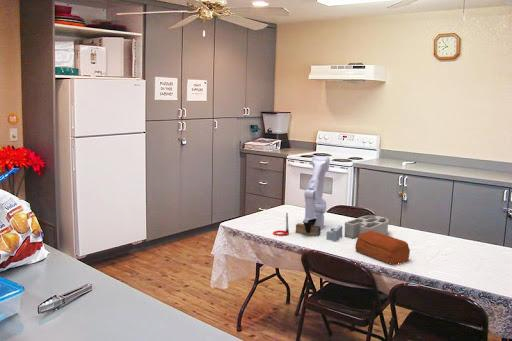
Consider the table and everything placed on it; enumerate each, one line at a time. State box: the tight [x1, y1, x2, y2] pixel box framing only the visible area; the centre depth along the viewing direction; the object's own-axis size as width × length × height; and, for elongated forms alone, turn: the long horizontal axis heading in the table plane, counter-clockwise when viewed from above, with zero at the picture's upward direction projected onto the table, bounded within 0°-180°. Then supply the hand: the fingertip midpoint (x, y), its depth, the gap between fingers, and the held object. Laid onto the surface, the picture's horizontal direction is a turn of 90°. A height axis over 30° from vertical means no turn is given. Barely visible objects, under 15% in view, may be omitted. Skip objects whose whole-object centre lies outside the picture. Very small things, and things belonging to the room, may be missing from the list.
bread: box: [354, 231, 411, 265], centre depth 250 cm, size 16×27×11 cm, turn 35°
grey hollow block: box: [344, 215, 390, 239], centre depth 286 cm, size 17×28×9 cm, turn 137°
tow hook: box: [272, 212, 290, 237], centre depth 284 cm, size 8×13×9 cm
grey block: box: [326, 225, 343, 242], centre depth 278 cm, size 12×6×6 cm, turn 153°
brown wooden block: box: [295, 222, 322, 237], centre depth 286 cm, size 4×14×5 cm, turn 64°
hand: (309, 231), depth 285 cm, fingers closed on brown wooden block, 4 cm apart
